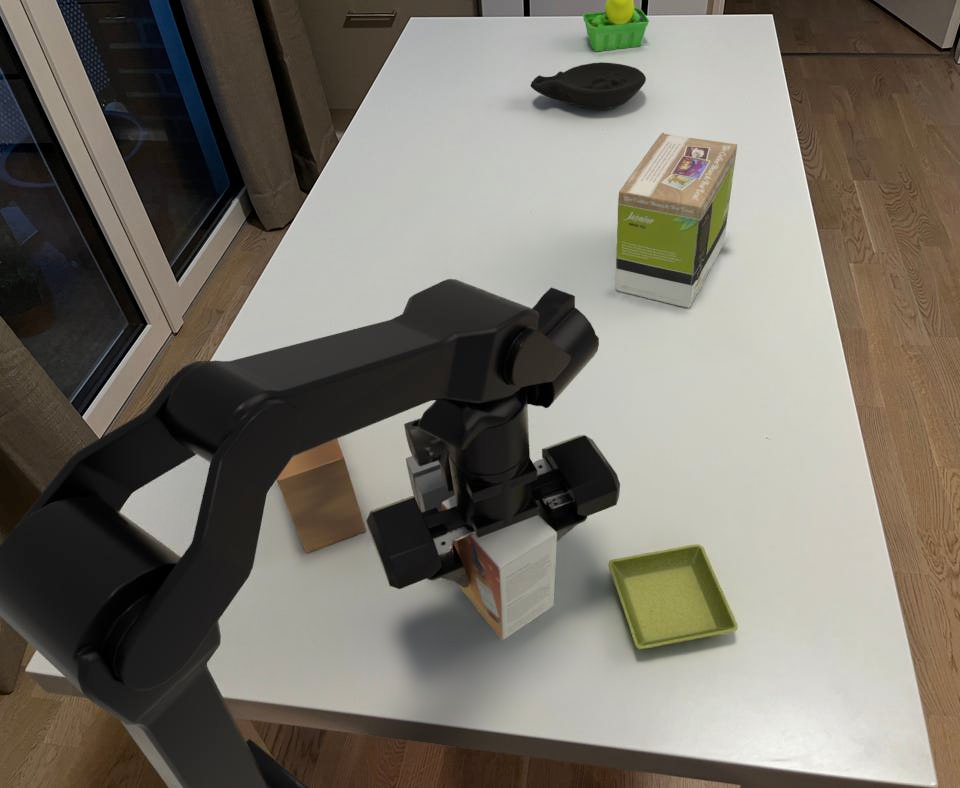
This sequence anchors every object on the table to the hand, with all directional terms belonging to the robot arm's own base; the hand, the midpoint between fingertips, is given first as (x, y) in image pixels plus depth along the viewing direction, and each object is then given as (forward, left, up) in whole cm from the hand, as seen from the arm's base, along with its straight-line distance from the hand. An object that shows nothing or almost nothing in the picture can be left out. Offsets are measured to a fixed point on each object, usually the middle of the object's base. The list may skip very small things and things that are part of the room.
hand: (500, 568), depth 66 cm
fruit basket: (+68, +103, -6) cm, 124 cm away
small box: (0, 0, -4) cm, 4 cm away
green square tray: (+13, -6, -6) cm, 16 cm away
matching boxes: (-12, +21, -6) cm, 25 cm away
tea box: (+39, +36, -6) cm, 53 cm away
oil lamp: (+52, +84, -6) cm, 99 cm away
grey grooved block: (0, +9, -6) cm, 11 cm away
